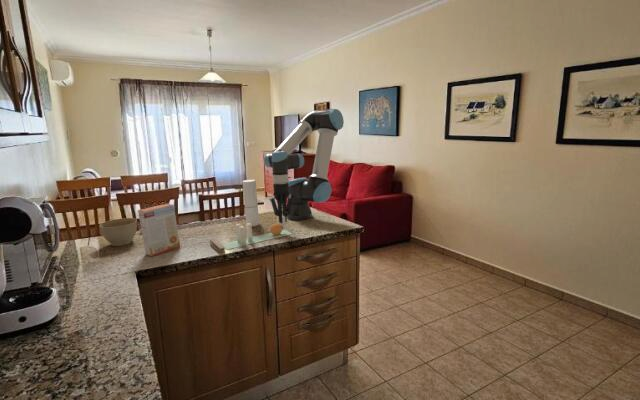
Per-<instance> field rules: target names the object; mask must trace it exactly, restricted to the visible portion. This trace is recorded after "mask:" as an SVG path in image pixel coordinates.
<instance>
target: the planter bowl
mask: <svg viewBox="0 0 640 400" xmlns="http://www.w3.org/2000/svg"><path fill="white" fill-rule="evenodd" d="M99 228H100V229H99V230H100V232H101V235H102V236H103V238H104V239H105V240H106V242H109V244H110V245H111V246H113V247H119V246H120V247H121V246H126V245H129V244H131V243H133V240H134V237H135V236H136V234H137V229H138V220H137V218H134V217H126V218H125V217H124V218H123V217H122V218H116V219H111V220H107V221H104V222H102V223H100V224H99Z"/></svg>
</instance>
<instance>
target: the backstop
mask: <svg viewBox="0 0 640 400" xmlns="http://www.w3.org/2000/svg"><path fill="white" fill-rule="evenodd" d="M209 243H210V245H211V247H212V248H214V250H215V251H216V252H218V253H219V252H220V253H223V254H226V250H225V249H226V248H224V247H223V246H222V245H221V244H222V243H220V242H219V241H218V240H216V239H215V238H210V239H209ZM220 253H219V254H220Z"/></svg>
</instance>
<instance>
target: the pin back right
mask: <svg viewBox="0 0 640 400" xmlns="http://www.w3.org/2000/svg"><path fill="white" fill-rule="evenodd" d="M241 226H242V224H241V223H237V224H235V229H236V230H235V231H236V241H237V242H241V238H240V228H239V227H241Z"/></svg>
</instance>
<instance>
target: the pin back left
mask: <svg viewBox="0 0 640 400" xmlns="http://www.w3.org/2000/svg"><path fill="white" fill-rule="evenodd" d="M239 228H240V238H241V245H245V244H246V236H247V235H246V229H245V228H246V227H245V225H244V226H242V225H241V227H239ZM245 246H246V245H245Z"/></svg>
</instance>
